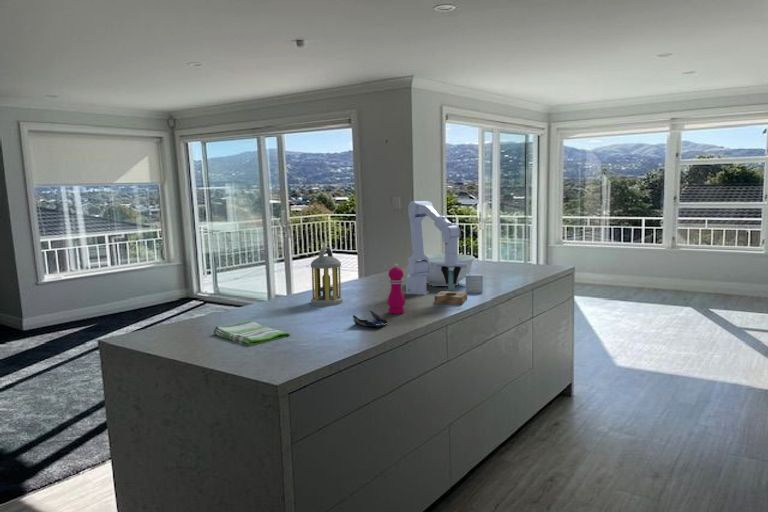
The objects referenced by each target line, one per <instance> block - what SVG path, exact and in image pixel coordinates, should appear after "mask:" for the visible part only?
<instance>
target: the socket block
mask: <svg viewBox="0 0 768 512" xmlns="http://www.w3.org/2000/svg"><path fill="white" fill-rule="evenodd" d="M467 300H468V293H467V292H466V291H448V290H447V291H445V290H444V291H443V290H441V291H439V292H438V293H437V294H435V295H434V304H439V305H456V306H457V305H459V306H462V305H463V304H465V302H466V301H467Z"/></svg>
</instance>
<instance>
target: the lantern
mask: <svg viewBox="0 0 768 512" xmlns="http://www.w3.org/2000/svg"><path fill="white" fill-rule="evenodd" d="M325 252H327V255H325V254H326V253H325ZM341 267H342V263H341V261H340V260H339V259H338V258H337V257H334V256H333V252H332V249H331V248H330V247H328V246H323V247H321V249H320V250H319V253H318V257H316V258H314V259H313V260H312V261H311V263H310V268H311V287H312V289H311V290H312V291H311V292H312V298H311V299H310V304H311V305H313V306H318V307H328V306H329V307H330V306H337V305H341V304H343V303H344V299H343V298H342V290H341V289H342V288H341V287H342V286H341V282H342V281H341ZM321 269H323V275H322V277H321ZM329 269H331V272H332V273H331V275H332V286H331V275H330V273H329ZM321 281H322V284H321ZM321 285H322V287H321ZM331 292H332V293H331Z"/></svg>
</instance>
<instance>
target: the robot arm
mask: <svg viewBox="0 0 768 512" xmlns="http://www.w3.org/2000/svg"><path fill="white" fill-rule="evenodd" d="M407 208H408V209H407V210H408V219H409V223H410V224H409V225H410V236H411V248H412V250H411V251H412V255H411V256H410V257H408V259H407V272H408V274H407V275H406V279H405V285H406V287H405V288H406V289H405V290H406V292H405V294H406V295H420V294H421V295H422V294H423V295H425V296H426V295H427V294H429V292H430V291H429V290H427V289H428V288H427V282H428V281H427V280H426V275H428V272H429V271H430V264H429V260H428V257H427V256H425V255H426V254H425V253H424V240H423V238H424V237H423V227H422V225H423V224H422V221H423V219H425V218H426V217H429V218H430V219H431V220H432V221H434V222H433V223H434V226H435V227H436V228H437V229H438V230H439V231H440V232H441V236H442V239H443V240H442V241H443V243H444V254H445V262H435V263H434V267H441V271H442V273H443V275H444V278H445V281H446V284H448V270H449V267H452V268H454V284H457V278H458V275H459V273H460V270H461V268H468V263H458V254H459V253H458V251H459V250H458V249H459V247H458V246H459V245H458V244H459V240H458V239H459V238H460V236H461V233H462V232H461V228H460V227H459V225H458V224H453V223H452V222H451V221H450V220H449V219H448V218H447V216H446V215H440V214H439V213H438V212H437V210H436V209H435V208H434V205H433V203H432V201H430V200H417V201H416V200H412V201H410V203H409V204H408V207H407ZM416 260H421V261H416ZM423 295H422V296H423Z"/></svg>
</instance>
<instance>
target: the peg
mask: <svg viewBox="0 0 768 512" xmlns="http://www.w3.org/2000/svg"><path fill="white" fill-rule="evenodd" d="M455 287H456V286H455V284H454V270H448V287H447V291H450V292H456V291H455V290H456V289H455Z"/></svg>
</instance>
